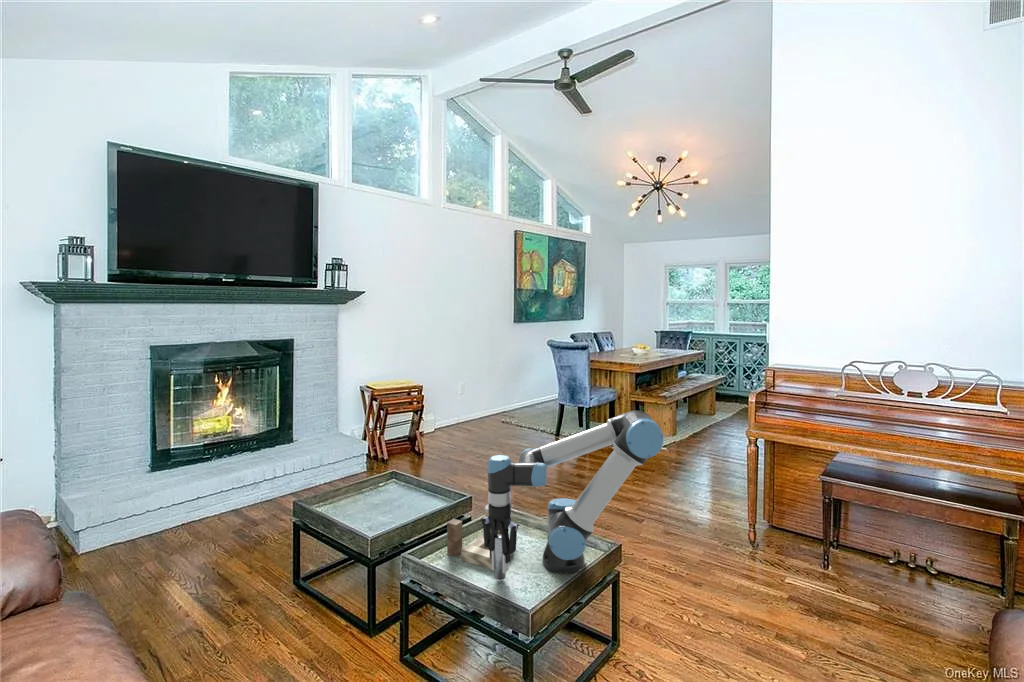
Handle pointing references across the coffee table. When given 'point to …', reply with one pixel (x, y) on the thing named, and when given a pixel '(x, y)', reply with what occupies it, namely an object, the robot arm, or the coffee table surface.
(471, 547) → the bore block
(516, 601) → the coffee table surface
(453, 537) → the square peg
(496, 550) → the round peg
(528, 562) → the coffee table surface
